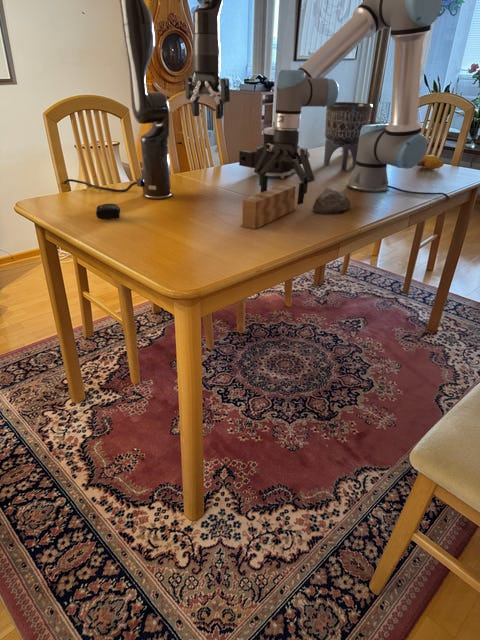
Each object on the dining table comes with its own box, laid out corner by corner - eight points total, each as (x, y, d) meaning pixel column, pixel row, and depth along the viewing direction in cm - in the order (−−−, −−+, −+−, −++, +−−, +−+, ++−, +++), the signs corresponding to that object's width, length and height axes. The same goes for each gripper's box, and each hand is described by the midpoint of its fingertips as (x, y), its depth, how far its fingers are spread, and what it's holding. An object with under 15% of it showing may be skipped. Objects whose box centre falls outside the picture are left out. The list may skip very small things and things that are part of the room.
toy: (418, 162, 205) (412, 155, 217) (420, 176, 207) (414, 168, 220) (444, 154, 201) (436, 147, 214) (446, 168, 204) (438, 161, 217)
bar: (281, 207, 152) (283, 183, 148) (293, 210, 150) (295, 185, 146) (242, 226, 135) (242, 199, 131) (255, 229, 132) (256, 202, 129)
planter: (313, 167, 208) (319, 103, 195) (331, 160, 222) (338, 101, 209) (353, 173, 199) (362, 107, 185) (369, 166, 213) (379, 104, 199)
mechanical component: (240, 120, 182) (283, 115, 202) (239, 174, 192) (280, 164, 212) (283, 126, 170) (325, 120, 190) (280, 183, 180) (320, 171, 200)
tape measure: (96, 222, 135) (94, 209, 133) (99, 215, 140) (97, 203, 139) (120, 221, 136) (118, 209, 134) (121, 214, 141) (120, 202, 139)
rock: (335, 203, 156) (338, 184, 153) (355, 209, 151) (359, 189, 148) (309, 210, 149) (311, 190, 145) (329, 217, 143) (332, 196, 140)
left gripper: (178, 53, 126) (180, 116, 134) (219, 53, 119) (219, 120, 128) (195, 53, 132) (196, 114, 140) (235, 54, 125) (234, 118, 133)
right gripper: (245, 125, 138) (242, 195, 149) (319, 134, 126) (311, 209, 137) (258, 123, 143) (255, 191, 154) (330, 132, 132) (321, 204, 142)
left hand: (207, 117), depth 134 cm, fingers open, 8 cm apart
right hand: (281, 200), depth 145 cm, fingers open, 13 cm apart
